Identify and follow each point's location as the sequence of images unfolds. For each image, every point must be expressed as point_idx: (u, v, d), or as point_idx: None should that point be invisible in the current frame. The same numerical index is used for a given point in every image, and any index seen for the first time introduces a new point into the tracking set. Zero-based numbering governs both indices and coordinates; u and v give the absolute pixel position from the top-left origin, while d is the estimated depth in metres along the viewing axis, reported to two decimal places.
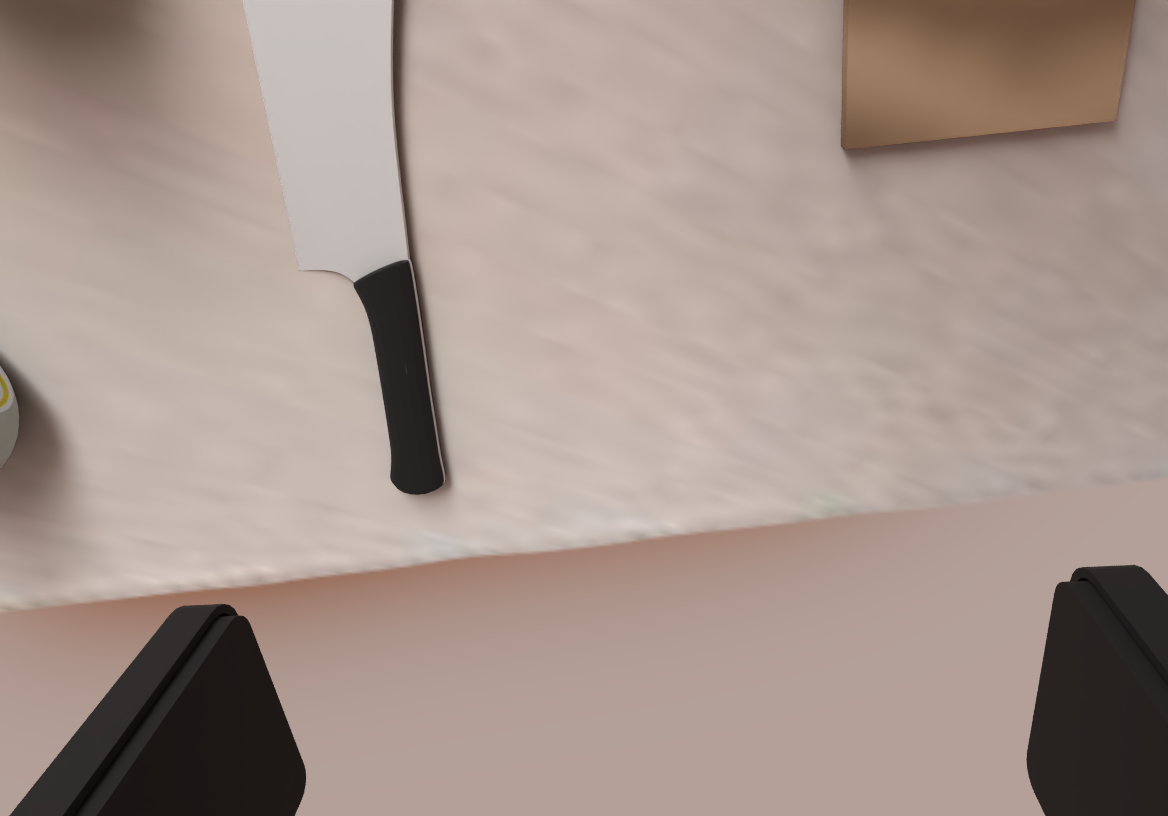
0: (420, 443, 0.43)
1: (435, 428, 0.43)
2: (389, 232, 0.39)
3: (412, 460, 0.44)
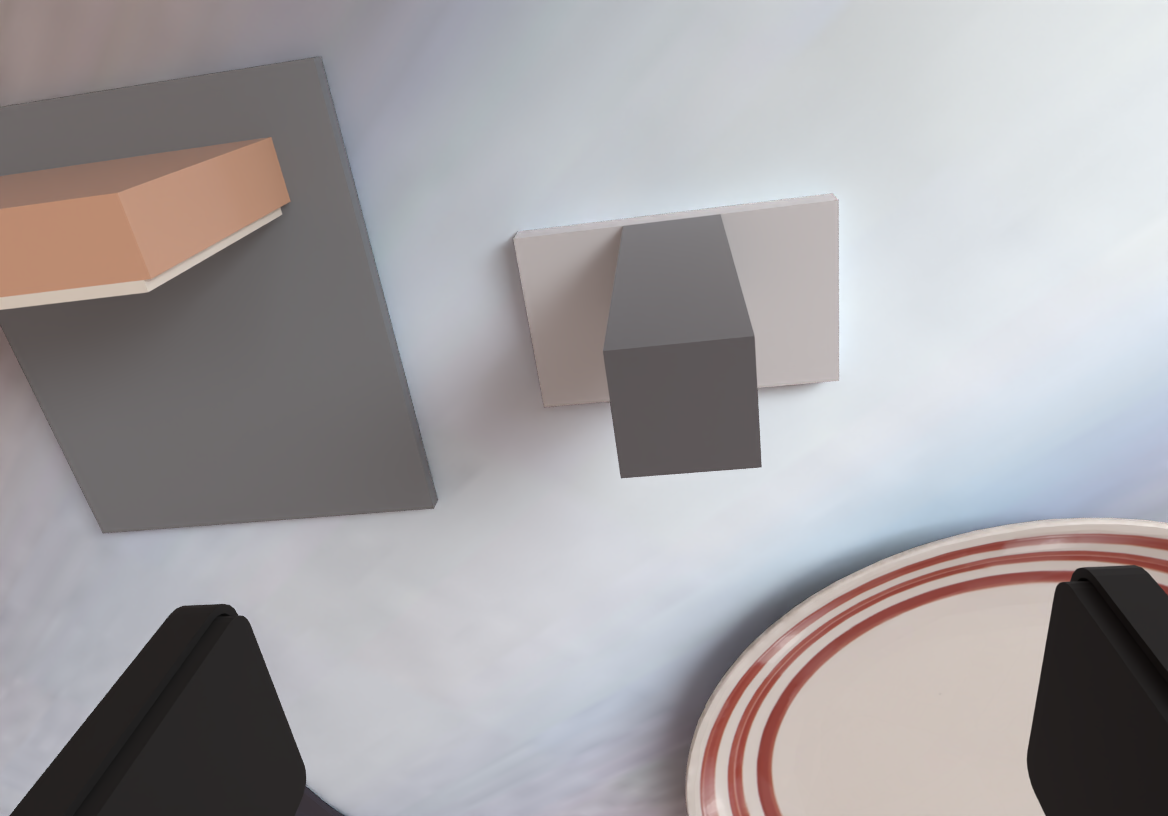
0: None
1: None
2: None
3: None
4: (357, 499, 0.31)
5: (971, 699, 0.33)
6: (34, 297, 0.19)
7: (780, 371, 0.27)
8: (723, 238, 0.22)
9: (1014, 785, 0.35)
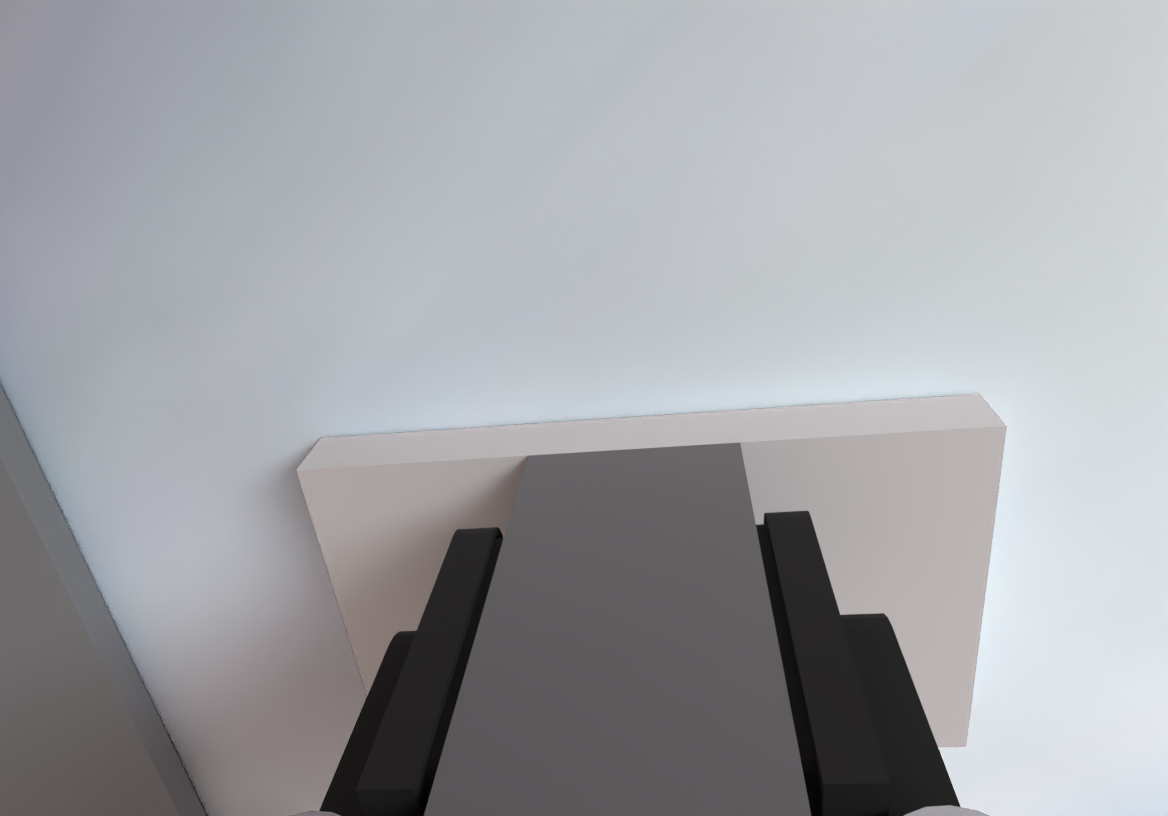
0: None
1: None
2: None
3: None
4: None
5: None
6: None
7: None
8: (754, 567, 0.09)
9: None
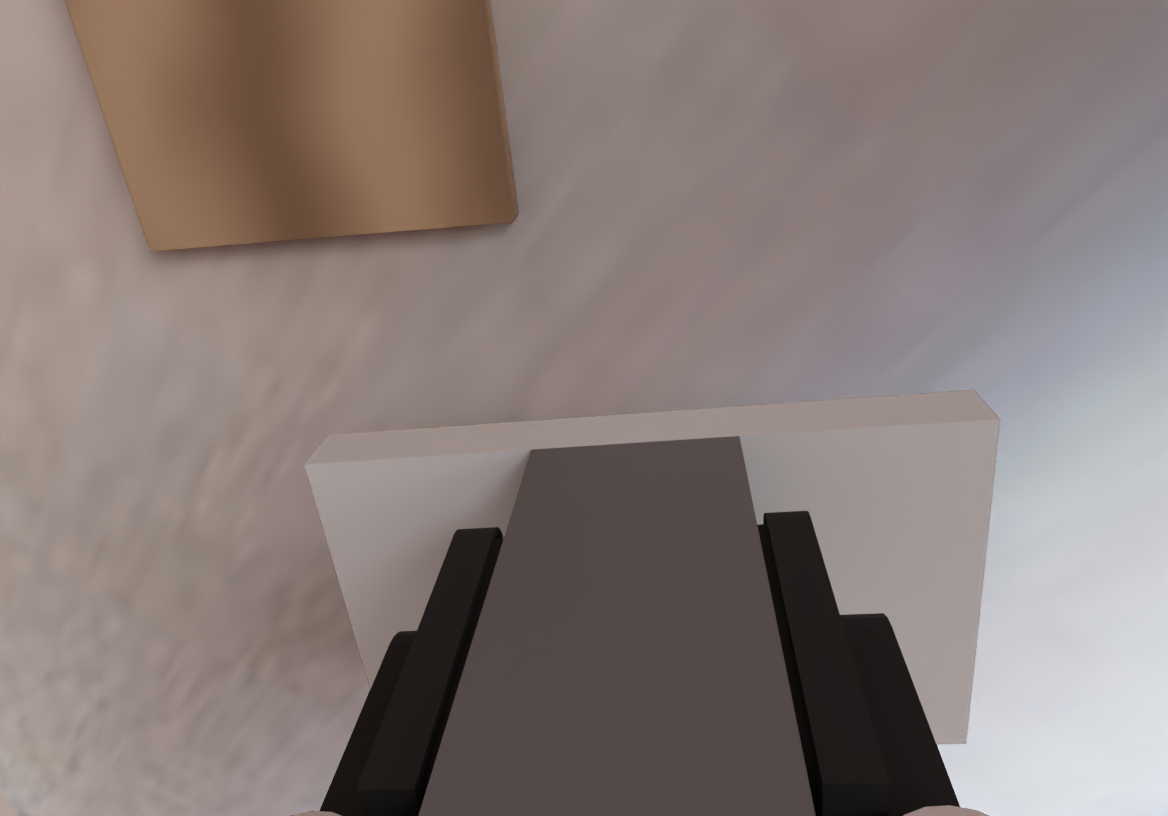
0: None
1: None
2: None
3: None
4: None
5: None
6: None
7: None
8: (752, 549, 0.09)
9: None
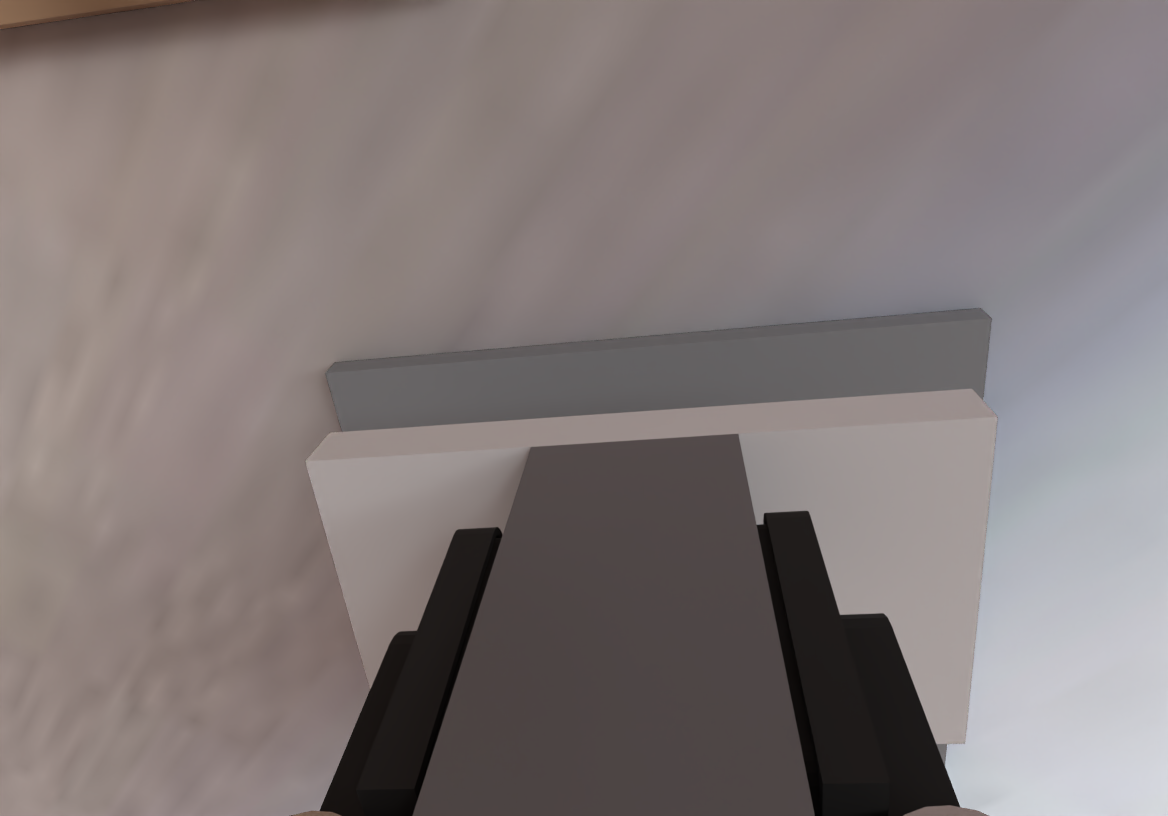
0: None
1: None
2: None
3: None
4: None
5: None
6: None
7: None
8: (750, 543, 0.09)
9: None
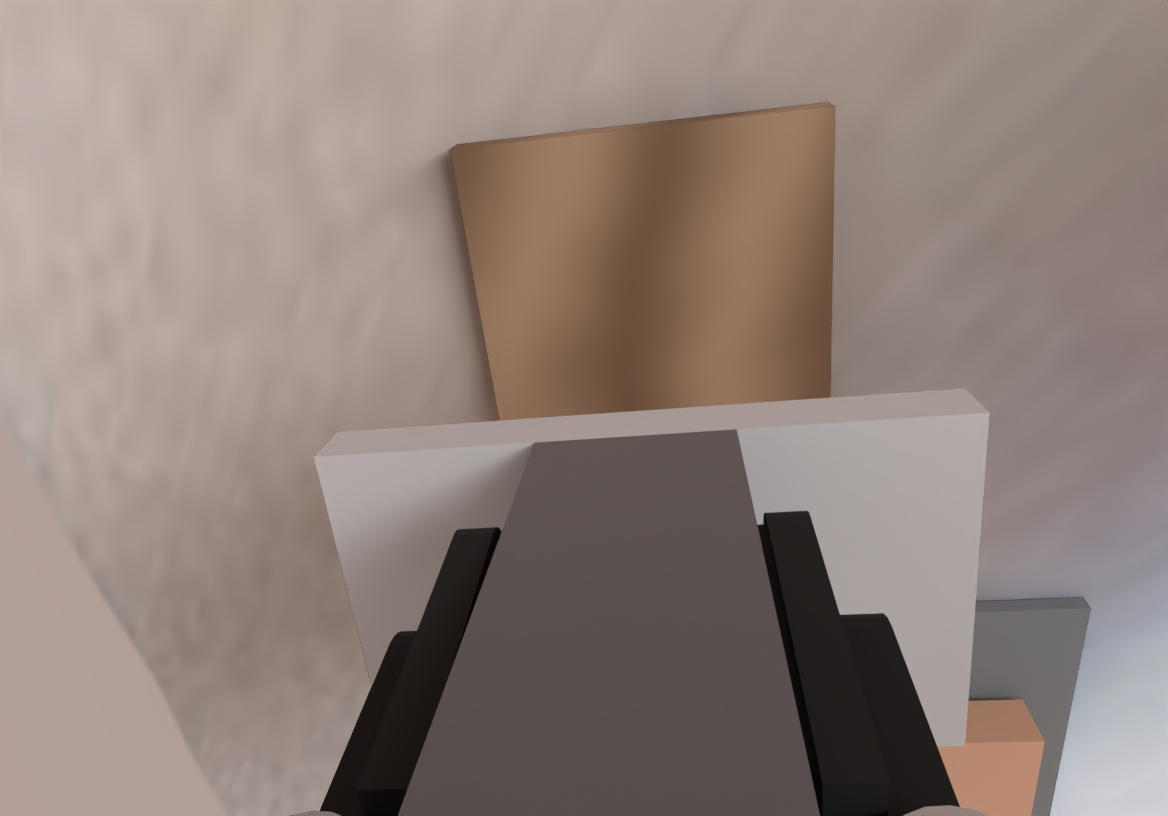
0: None
1: None
2: None
3: None
4: None
5: None
6: None
7: None
8: (748, 524, 0.09)
9: None
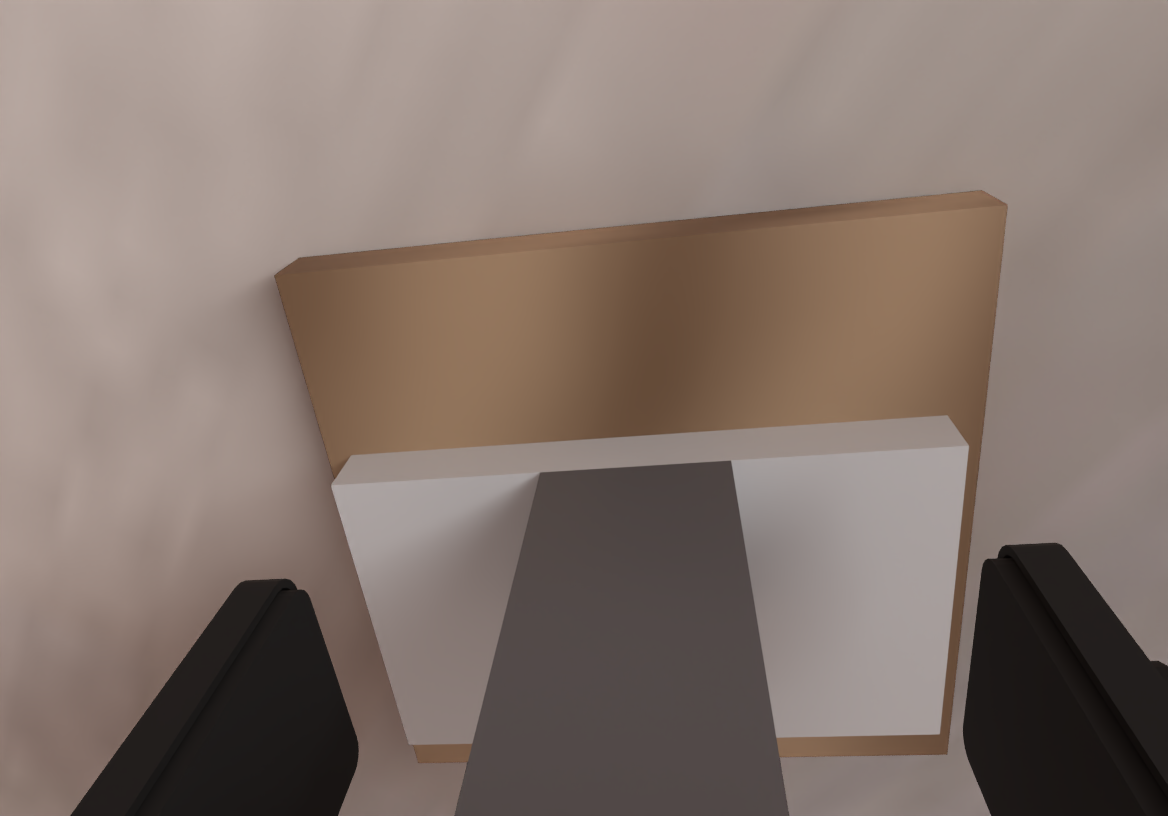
0: None
1: None
2: None
3: None
4: None
5: None
6: None
7: (833, 715, 0.15)
8: (741, 573, 0.10)
9: None
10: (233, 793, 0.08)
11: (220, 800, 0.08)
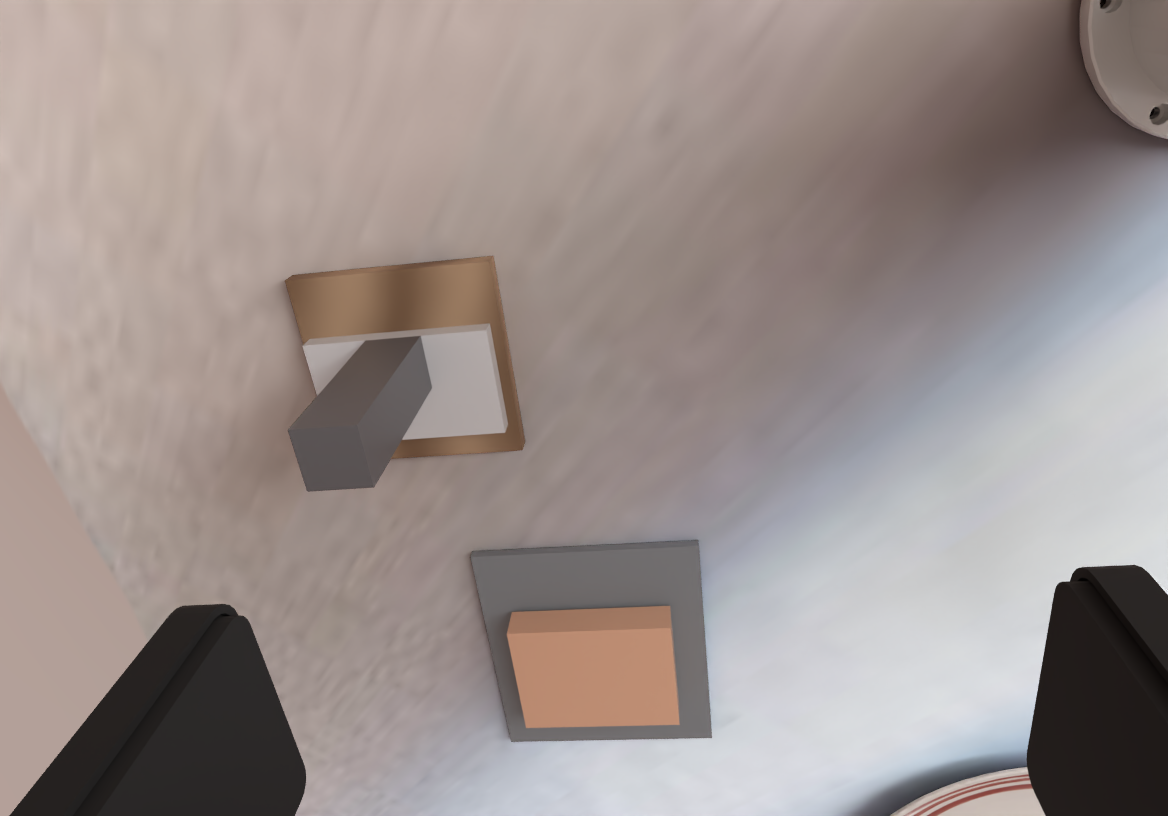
0: None
1: None
2: None
3: None
4: (668, 731, 0.55)
5: None
6: None
7: (469, 426, 0.44)
8: (403, 356, 0.40)
9: None
10: None
11: None
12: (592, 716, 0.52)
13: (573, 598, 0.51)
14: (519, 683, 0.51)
